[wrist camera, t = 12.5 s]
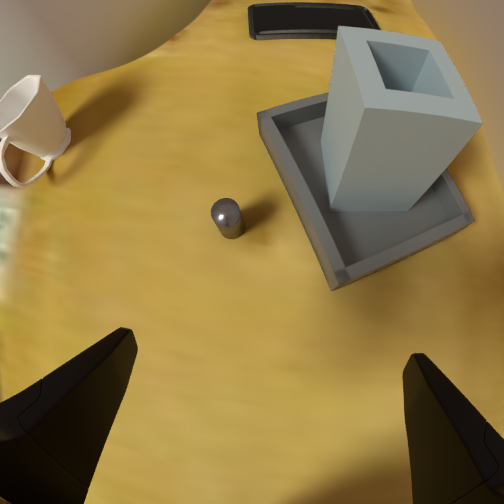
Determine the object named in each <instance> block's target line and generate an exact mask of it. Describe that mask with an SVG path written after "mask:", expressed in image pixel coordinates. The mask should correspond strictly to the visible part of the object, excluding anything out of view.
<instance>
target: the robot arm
mask: <svg viewBox="0 0 504 504" xmlns="http://www.w3.org/2000/svg"><path fill="white" fill-rule="evenodd" d="M137 351H138V347H137V343H136V340H135V337H134V334H133V331H132V330H131V329H128V328H123V327H120V328H118V329H117V330H115V331H114V332H112V333H110V334H109V335H107V336H106V337H104V338H103V339H101V340H100V341H98V342H97V343H95V344H94V345H92V346H91V347H89V348H88V349H86V350H84V351H83V352H81V353H80V354H78V355H77V356H75V357H74V358H72V359H71V360H69V361H68V362H66V363H65V364H63V365H62V366H60V367H59V368H57V369H56V370H54V371H53V372H51V373H49V374H48V375H46V376H45V377H43V379H40V380H39V381H37V382H36V383H34V384H33V385H31V386H30V387H28V388H26V389H25V390H23V391H21V392H20V393H18V394H16V395H14V396H12V397H11V398H9V399H7V400H5V401H3V402H1V403H0V504H84V501H85V498H86V495H87V493H88V490H89V489H88V488H89V486H90V483H91V481H92V478H93V475H94V472H95V469H96V467H97V464H98V461H99V458H100V456H101V453H102V450H103V448H104V445H105V442H106V440H107V437H108V435H109V432H110V429H111V427H112V424H113V422H114V419H115V417H116V414H117V412H118V409H119V407H120V404H121V402H122V400H123V397H124V395H125V392H126V389H127V386H128V383H129V379H130V376H131V372H132V369H133V365H134V362H135V359H136V355H137ZM403 392H404V414H405V424H406V431H407V439H408V448H409V457H410V467H411V479H412V494H413V504H504V439H503V438H502V437H501V436H500V435H499V434H498V433H497V431H496V430H495V429H494V428H493V427H492V426H491V425H490V424H489V423H488V422H486V419H485V418H484V417H483V416H482V415H481V414H480V413H479V411H478V410H477V409H476V408H475V407H474V406H473V405H472V404H471V403H470V401H469V400H468V399H467V398H466V397H465V396H464V395H463V394H462V393H461V392H460V391H459V390H458V388H457V387H456V386H455V385H454V384H453V383H452V382H451V381H450V380H449V379H448V378H447V377H446V376H445V375H444V374H443V373H442V371H441V370H440V369H439V368H438V367H437V366H436V365H435V364H434V363H433V362H432V361H431V360H430V359H429V358H428V357H427V356H426V355H425V354H423V353H414V354H412V355H411V356H410V358H409V360H408V362H407V364H406V366H405V368H404V371H403Z"/></svg>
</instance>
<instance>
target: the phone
mask: <svg viewBox="0 0 504 504" xmlns="http://www.w3.org/2000/svg"><path fill="white" fill-rule="evenodd" d="M248 20H249V34H250V37H251V38H252V39H254V40H272V39H337V32H338V26H346V27H357V28H367V29H375V30H380V29H379V27H378V25H377V23H376V22H375V20H374V18H373V17H372V15H371V13H370V12H369V10H368V9H367V8H365V7H362V6H358V5H348V4H333V3H306V2H290V3H263V4H253V5H251V6H249V7H248Z"/></svg>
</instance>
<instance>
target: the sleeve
mask: <svg viewBox="0 0 504 504" xmlns="http://www.w3.org/2000/svg"><path fill="white" fill-rule="evenodd" d="M482 124H483V123H482V121H481V118H480V116H479V114H478V112H477V109H476V107H475V105H474V103H473V101H472V99H471V97H470V94H469V92H468V90H467V88H466V86H465V85H464V83H463V81H462V79H461V77H460V75H459V73H458V72H457V70H456V68H455V66H454V64H453V63H452V61H451V59H450V58H449V56H448V54H447V52H446V51H445V49H444V47H443V46H442V44H441V43H440V42H439V41H435V40H431V39H427V38H422V37H417V36H412V35H407V34H401V33H395V32H389V31H382V30H375V29H367V28H357V27H346V26H338V32H337V39H336V47H335V54H334V61H333V68H332V75H331V81H330V88H329V94H328V101H327V107H326V113H325V119H324V125H323V131H322V137H321V146H322V153H323V161H324V169H325V177H326V186H327V195H328V205H329V212H346V211H408V210H409V209H410V208H411V207H412V206H413V205H414V204H415V203H416V202H417V200H418V199H419V198H420V197H421V196H422V195H423V194H424V193H425V192H426V191H427V189H428V188H429V187H430V186H431V185H432V184H433V183H434V182H435V180H436V179H437V178H438V177H439V176H440V175H441V174H442V172H443V171H444V170H445V169H446V168H447V167H448V165H449V164H450V163H451V162H452V161H453V159H454V158H455V157H456V156H457V155H458V154H459V152H460V151H461V150H462V149H463V148H464V146H465V145H466V144H467V143H468V141H469V140H470V139H471V138H472V136H473V135H474V134H475V133H476V131H477V130H478V129H479V128H480V126H481V125H482Z"/></svg>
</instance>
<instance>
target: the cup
mask: <svg viewBox="0 0 504 504" xmlns="http://www.w3.org/2000/svg"><path fill="white" fill-rule="evenodd" d="M0 138H2V141H1V142H0V172H1V174H2V175H3V176H4V177H5V179H6V180H7V181H8V182H9V183H10V184H12V185H13V186H16V187H20V188H22V187H27V186H29V185H31V184H33V183H35V182H36V181H37V180H38V179H40V178H41V177H42V176H43V175H44V174H45V173H46V172H47V170H48V169H49V168H50V167H51V164H52V161H53V160H55V159H56V158H58V157H60V156H61V155H62V154H63V153H64V151H65V150H66V148H67V147H68V145H69V144H70V142H71V130H70V129H69V128H66V122H65V120H64V118H63V115H62V113H61V111H60V108H59V107H58V105H57V103H56V101H55V100H54V98H53V96H52V94H51V93H50V91H49V89H48V87H47V85H46V83H45V81H44V80H43V78H42V76H41V75H27V76H26V77H25V78H23V79H22V80H20V81H19V82H18V83H16V84H15V85H14V86H12V87H11V88H10V89H9V90H8V91H7V92H6V93H5V95H4V96H3V98H2V99H1V100H0ZM9 143H11V144H13V145H15V146H16V147H18V148H20V149H22V150H25V151H27V152H30V153H32V154H35V155H37V156H40V158H41V159H43V160H45V161H46V162H45V165H44V167H43V168H42V169H41V170H40V172H39V173H38V174H36V175H35V176H34V177H33V178H31V179H30V180H29V181H27V182H25V183H20V182H18V181H17V180H16V179H15V178H14V177H13V176H12V175H11V174H10V172H9V171H8V170H7V167H6V164H5V160H4V151H5V150H6V148H7V146H8V144H9Z"/></svg>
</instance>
